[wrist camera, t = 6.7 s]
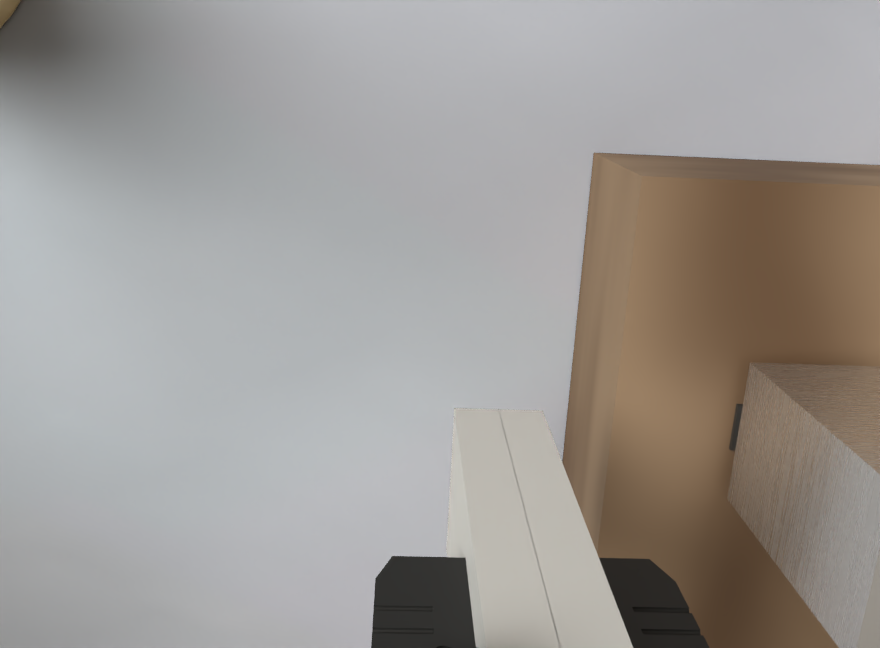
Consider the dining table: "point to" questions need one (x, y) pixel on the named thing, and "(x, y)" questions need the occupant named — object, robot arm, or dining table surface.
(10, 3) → the hand bell
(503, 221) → the dining table surface
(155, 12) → the dining table surface
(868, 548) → the slider aluminium
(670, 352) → the console
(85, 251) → the dining table surface
